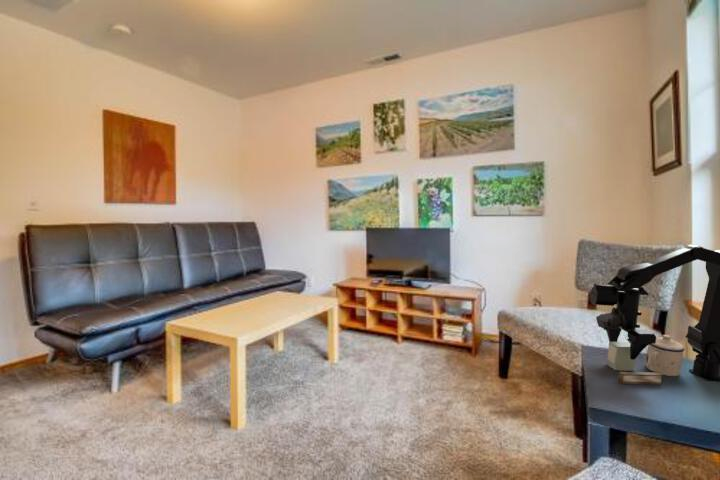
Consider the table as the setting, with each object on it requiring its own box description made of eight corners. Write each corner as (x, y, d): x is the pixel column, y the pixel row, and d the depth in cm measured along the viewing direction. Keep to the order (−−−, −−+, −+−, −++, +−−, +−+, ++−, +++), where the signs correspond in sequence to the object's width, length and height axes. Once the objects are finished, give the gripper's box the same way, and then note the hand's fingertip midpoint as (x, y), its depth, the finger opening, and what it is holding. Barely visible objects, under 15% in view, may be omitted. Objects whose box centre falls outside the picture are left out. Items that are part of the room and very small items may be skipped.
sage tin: (606, 364, 122) (608, 341, 121) (625, 364, 122) (627, 341, 121) (614, 370, 118) (617, 346, 117) (634, 370, 118) (636, 347, 117)
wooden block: (657, 381, 111) (658, 372, 111) (661, 384, 109) (662, 375, 109) (617, 381, 111) (618, 371, 111) (621, 384, 109) (622, 374, 109)
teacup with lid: (653, 361, 125) (657, 328, 123) (686, 373, 117) (691, 338, 115) (633, 368, 119) (638, 334, 118) (667, 381, 111) (672, 345, 110)
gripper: (584, 297, 126) (580, 340, 128) (622, 316, 108) (617, 366, 110) (616, 298, 126) (612, 341, 128) (660, 316, 108) (654, 366, 110)
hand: (622, 352), depth 119 cm, fingers open, 9 cm apart
